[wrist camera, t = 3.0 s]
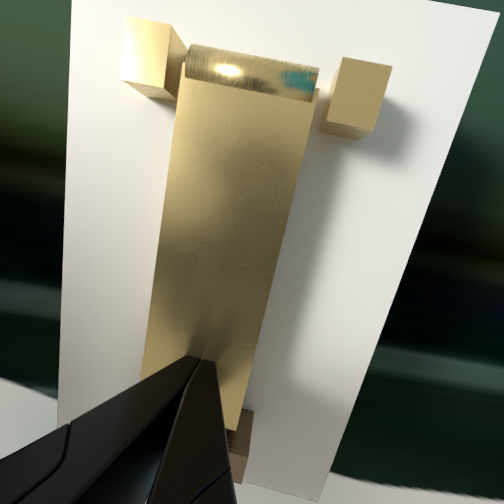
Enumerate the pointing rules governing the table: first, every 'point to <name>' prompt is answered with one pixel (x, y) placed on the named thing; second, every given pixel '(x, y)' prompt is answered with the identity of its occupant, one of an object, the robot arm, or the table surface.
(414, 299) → the table surface
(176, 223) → the brass clasp lever
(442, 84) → the box
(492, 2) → the table surface
